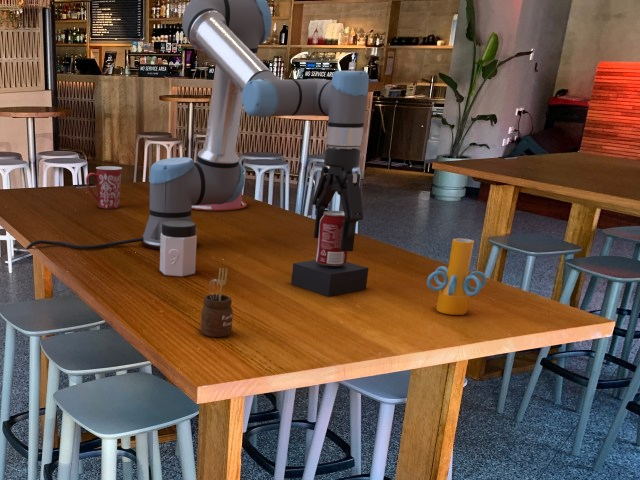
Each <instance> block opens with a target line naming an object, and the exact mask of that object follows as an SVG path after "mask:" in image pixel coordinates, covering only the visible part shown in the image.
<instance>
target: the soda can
mask: <svg viewBox="0 0 640 480" xmlns="http://www.w3.org/2000/svg"><path fill="white" fill-rule="evenodd" d="M344 218H345V214H344V210H329V211H325V212H324V215H323V217H322V218H321V219H320V226H319V235H318V238H317V245H316V246H317V247H316V255H315V260H316V263H318V264H319V265H320V266H322V267H327V268H339V267H342V266H343V265H345V264H346V262H347V260H348V259H347V258H348V251H342V252H341V251H340V246H341V237H342V228H343V220H344Z"/></svg>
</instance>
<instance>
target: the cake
mask: <svg viewBox="0 0 640 480" xmlns="http://www.w3.org/2000/svg"><path fill="white" fill-rule="evenodd" d="M247 206H248V203H246V202H245V201H243V191H242V192H241V194H240V195H239V197H238V198H237V199H235V200H234V201H232V202H229V203H224V204H211V205H197V206H192V209H191V210H196V211H208V212H209V211H210V212H223V211H224V212H226V211H227V212H228V211H235V210H242V209H244V208H246V207H247Z"/></svg>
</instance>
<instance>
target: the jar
mask: <svg viewBox="0 0 640 480" xmlns="http://www.w3.org/2000/svg"><path fill="white" fill-rule="evenodd" d="M196 226H197V224H196V223H195V222H194V221H192V222H190V221H180V220H175V221H166V222H163V223H162V233H161V241H160V250H159V252H160V253H159V272H161V273H162V274H163V275H164V276H167V277H168V276H169V277H180V278H181V277H187V276H191V275H195V274H196V268H197V267H196V265H197V264H196V263H197V246H196V243H197V244H198V236H197V233H196V232H197V231H196ZM195 234H196V235H195Z"/></svg>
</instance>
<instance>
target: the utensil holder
mask: <svg viewBox="0 0 640 480" xmlns="http://www.w3.org/2000/svg"><path fill="white" fill-rule="evenodd" d="M217 277H218V279H217V278H214V279H211V280H210V281H209V283H208V285H211V284H213V283H215V282H216V285H218V286H220V288H219V293H218V291H216V293H215V294H214V291H215V290H214V288H215V285H212V291H208V293H209V294H208V295H205V296H204V298H203V304H204V305H202V307H201V314H200V332H201V334H202V335H204V336H206V337H210V338H224V337H228V336H230V335H231V333H232V330H233V315H234V313H233V311H234V310H233V308H232V306H231V305H232V298H231V296H229V295H227V294H222V293H223V287H224V286H225V285H227V278H228V268H224V267H219V270H218V276H217ZM211 292H212V293H211Z"/></svg>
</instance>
